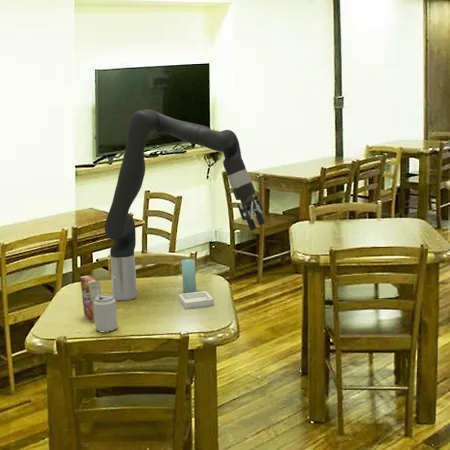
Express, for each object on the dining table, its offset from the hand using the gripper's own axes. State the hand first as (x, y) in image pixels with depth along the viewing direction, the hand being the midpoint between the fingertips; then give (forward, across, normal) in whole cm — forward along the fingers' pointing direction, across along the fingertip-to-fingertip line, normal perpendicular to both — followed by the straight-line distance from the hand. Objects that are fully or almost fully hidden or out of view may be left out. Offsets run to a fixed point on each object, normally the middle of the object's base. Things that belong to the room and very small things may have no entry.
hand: (258, 227), depth 272 cm
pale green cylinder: (+17, -13, -44) cm, 49 cm away
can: (+14, +33, -53) cm, 64 cm away
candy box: (+10, +25, -63) cm, 68 cm away
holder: (+20, -2, -36) cm, 41 cm away
